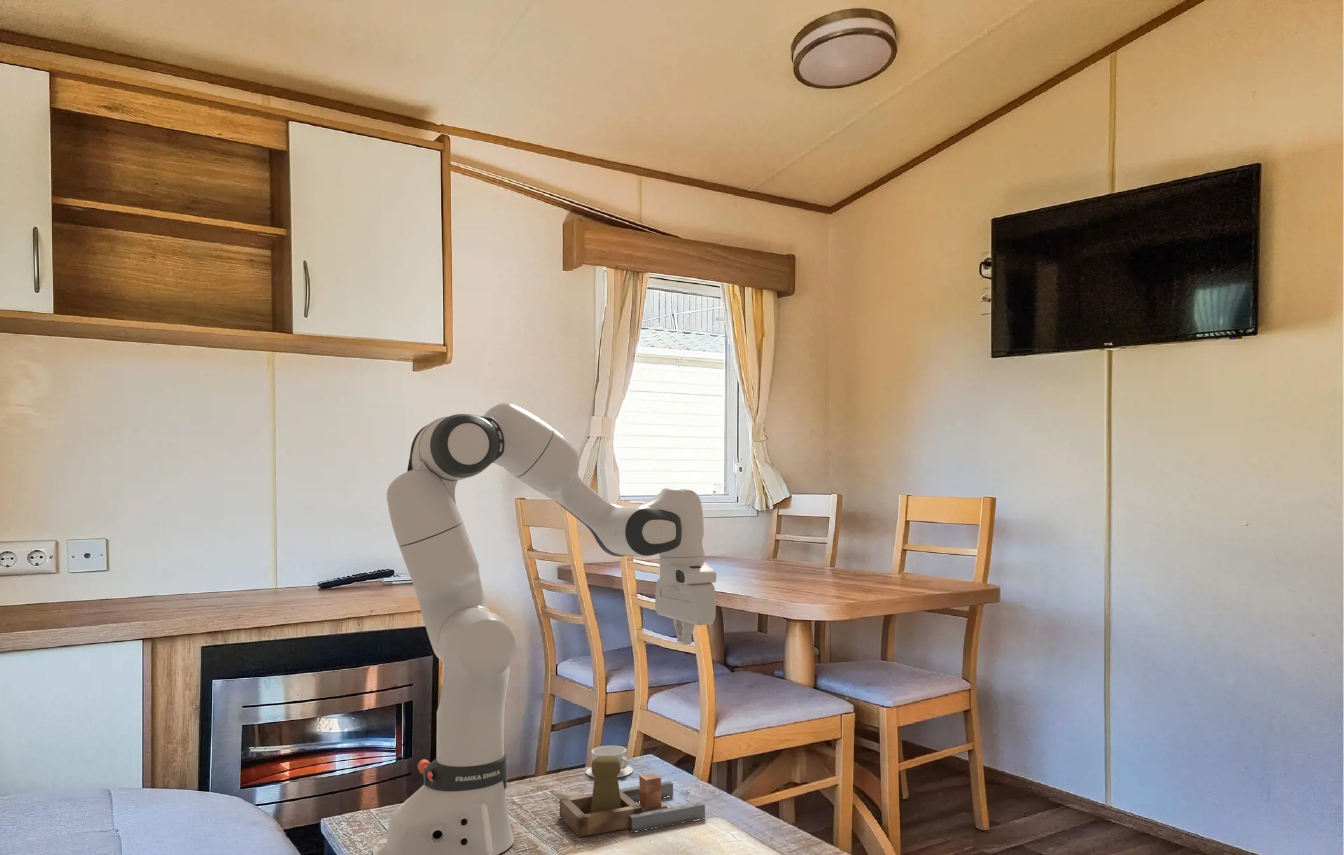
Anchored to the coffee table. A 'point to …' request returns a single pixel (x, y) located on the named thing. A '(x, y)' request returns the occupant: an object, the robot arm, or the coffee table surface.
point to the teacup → (616, 752)
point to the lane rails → (662, 811)
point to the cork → (605, 784)
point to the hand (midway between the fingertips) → (684, 643)
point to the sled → (588, 823)
